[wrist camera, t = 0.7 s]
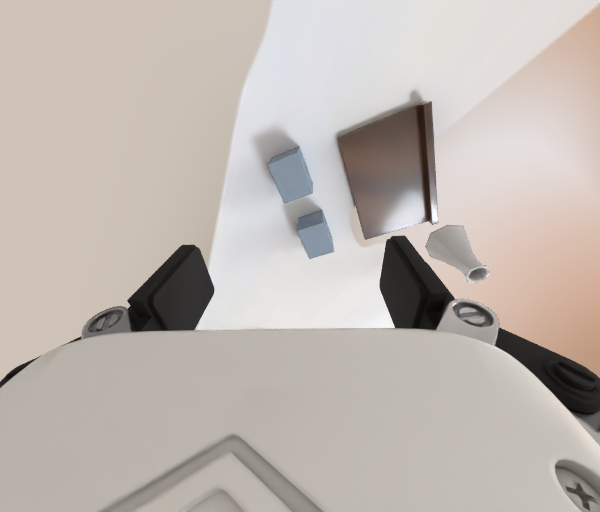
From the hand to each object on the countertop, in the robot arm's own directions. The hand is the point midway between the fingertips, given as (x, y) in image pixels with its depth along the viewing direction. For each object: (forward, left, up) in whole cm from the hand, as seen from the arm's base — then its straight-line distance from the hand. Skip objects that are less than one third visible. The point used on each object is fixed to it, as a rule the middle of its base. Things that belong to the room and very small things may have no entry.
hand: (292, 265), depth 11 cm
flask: (+23, +19, -28) cm, 41 cm away
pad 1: (+1, -3, -28) cm, 28 cm away
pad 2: (+12, -3, -28) cm, 31 cm away
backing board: (+8, +11, -28) cm, 31 cm away
